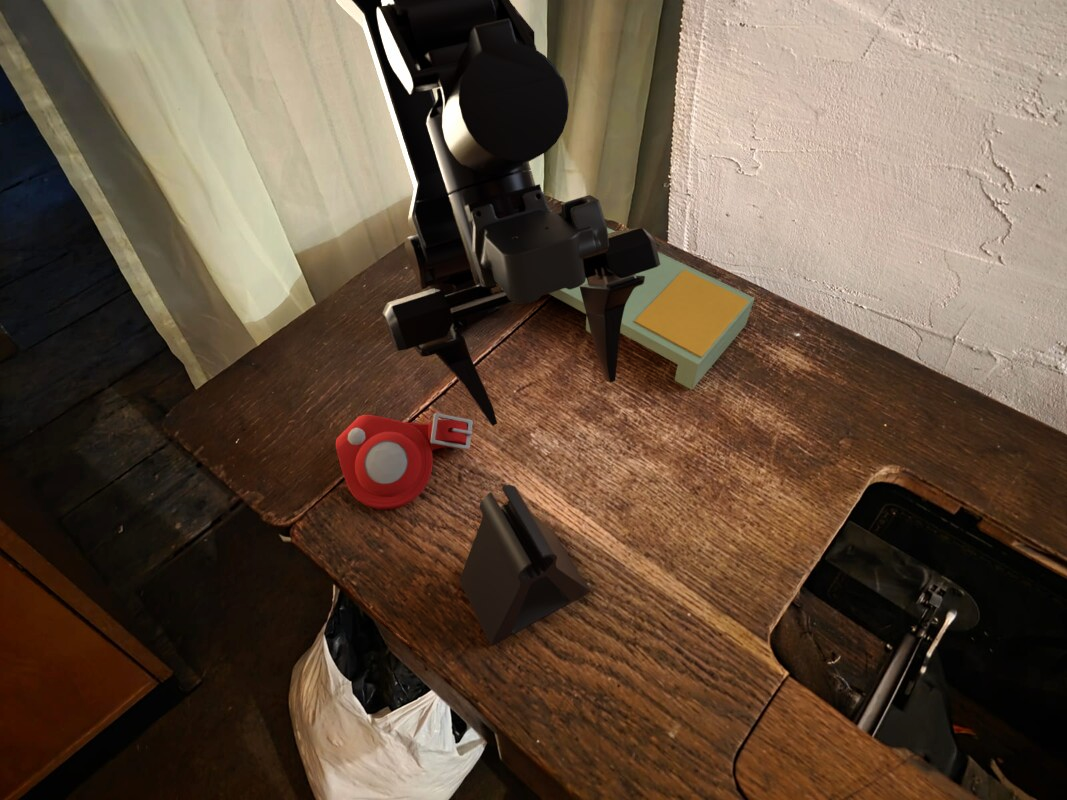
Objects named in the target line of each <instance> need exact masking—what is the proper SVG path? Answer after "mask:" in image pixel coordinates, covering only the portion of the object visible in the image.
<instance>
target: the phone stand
mask: <svg viewBox="0 0 1067 800" xmlns="http://www.w3.org/2000/svg"><path fill="white" fill-rule="evenodd" d="M501 490H502V492H503V493H504V495H505V497H506V499H507V500H508V501H507V503H506V504H502V505H501V506H500V504H499V503H498V501H497V499H496V497H495V495H494V494H493V492H491V491H490V492H488V493H487V494H486V495H485V496H484V497H483V498H482V499H481V501H480V503H479V507H478V508H479V510H480V512H481V515H482V517H481V520H480V524H479V526H478V529H477V532H476V534H475V536H474V539H473V542H472V545H471V547H470V550H469V553H468V556H467V558H466V560H465V563H464V566H463V569H462V571H461V574H460V577H459V579H458V582H459V584H460V586H461V587H462V590H463V592H464V594H465V596H466V598H467V600H468V602H469V604H470V606H471V608H472V610H473V612H474V614H475V616H476V618H477V621H478V623H479V625H480V626H481V629H482V631H483V633H484V635H485V638H486V639H487V641H488V643H489V646H491V647H493V646H495V645H497V644H499V643H501V642H503V641H505V640H506V639H508V638H510V637H512V636H514V635H516V634H518V633H519V632H521V631H523V630H525V629H527V628H529V627H530V626H532V625H533V624H536V623H537V622H539V621H540V620H541V619H545V618H547V617H548V616H550V615H552V614H554V613H556V612H557V611H559V610H561V609H564V608H565V607H567V606H568V605H570V604H572V603H574V602H576V601H577V600H579V599H581V598H583V597H585V596H586V595H588V594H589V593H590V592H591V591H590V588H589V587H588V585H587V583H586V582H585V580H584V579H583V577H582V575H581V574H580V572H579V570H578V569H577V567H576V565H575V564H574V562H573V560H572V559H571V557H570V555H569V554H568V552H567V550H566V549H565V547H564V546H563V544H562V542H561V540H560V539H559V537H558V535H557V533H556V532H555V531H554V530H553V529H552V528H551V527H549V526H548V525H547V524H546V523H544V522H543V521H542V520H541V519H540V518H539V517H538V516H536V515H535V514H534V513H533V512H532V511H530V508H529V507H528V504H526V502H525V500H524V499H523V497H522V495H521V493H520V492H519V490H518V488H517V487H516V486H515V485H511V484H506V485H502V487H501Z"/></svg>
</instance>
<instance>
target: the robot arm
mask: <svg viewBox="0 0 1067 800" xmlns="http://www.w3.org/2000/svg"><path fill="white" fill-rule="evenodd" d="M335 1H336V3H337V4H338V5H339V6H340V7H341V8H342V10H344V11H345V12H346V13H347V14H348V15H349V16H350V17H351V19H353V20H354V21H355V22H356V23H357V24H358V25H360V27H361V28H362V29H363V32H364V35H365V38H366V41H367V45H368V48H369V51H370V55H371V57H372V61H373V65H374V66H375V69H376V73H377V76H378V80H379V83H380V86H381V89H382V92H383V94H384V97H385V101H386V104H387V108H388V111H389V113H390V117H391V120H392V123H393V126H394V130H395V133H396V136H397V139H398V142H399V145H400V149H401V152H402V155H403V158H404V161H405V164H406V167H407V170H408V174H409V176H410V180H411V183H412V186H413V193H412V198H411V202H410V207H409V212H408V217H407V223H408V224H407V225H408V227H409V230H410V234H411V235H410V236H408V237H406V239H405V241H404V242H403V244H404V248H405V251H406V255H407V259H408V261H409V265H410V266H411V268H412V271H413V273H414V275H415V277H416V280H417V282H418V284H419V286H420V289H421V290H423V291H420V292H416V293H413V294H411V295H407V296H404V297H400V298H398V299H394V300H391V301H388V302H386V304H385V306H384V308H383V310H382V318H383V320H384V323H385V326H386V330H387V332H388V336H389V338H390V341H391V344H392V345H393V346H394V347H395V349H396V350H397V352H400V351H407V350H409V349H412V348H413V349H414V350H415V351H416V352H417V353H418V355H419V356H421V357H422V358H424V357H430V356H433V355H436V356H437V357H438V358H439V359H440V360H441V362H442V363H443V364H444V365H445V366H446V367H447V368H448V369H449V371H451V372H452V374H453V375H454V376H455V377H456V379H457V380H458V381H459V383H460V384H461V385H462V387H463V388H464V390H465V391H466V392H467V394H468V395H469V397H470V398H471V399H472V401H473V402H474V404H475V405H476V406H477V408H478V410H479V411H480V412H481V413H482V414H483V416H484V418H485V419H486V420H487V422H488V423H489V424H490V425H491V426H492V427H493V426H496V425H498V420H497V416H496V414H495V410H494V407H493V404H492V402H491V399H490V396H489V395H488V392H487V391H486V388H485V385H484V384H483V381H482V379H481V377H480V375H479V373H478V370H477V368H476V366H475V364H474V361H473V359H472V357H471V354H470V351H469V348H468V345H467V342H466V339H465V336H463V335H462V334H459V333H461V332H463V331H464V330H466V329H468V328H470V327H472V326H473V325H476V324H478V323H479V322H481V321H482V320H484V319H486V318H488V317H489V316H492V315H493V314H495V313H497V312H499V311H500V310H501V306H504V305H508V304H510V303H513V304H517V305H526V304H530V303H534V302H537V301H539V299H540V298H541V297H542V296H546V295H549V294H548V293H552V292H555V291H558V290H561V289H564V288H567V289H569V290H571V289H574V288H577V287H579V286H580V291H581V295H582V299H583V303H584V307H585V311H586V314H585V315H586V317H587V319H588V323H589V327H590V331H591V333H590V335H591V338H592V342H593V346H594V350H595V354H596V355H595V356H596V358H597V361H598V364H599V367H600V370H601V372H602V375H603V377H604V380H605V381H606V382H608V383H609V384H610V383H611V384H612V383H614V382H616V379H617V369H618V358H619V349H620V348H619V347H620V339H621V338H620V337H621V336H620V335H621V333H620V329H621V322H622V317H623V313H624V308H625V305H626V302H627V301H628V299H629V297H630V295H631V293H632V291H633V290H634V288H635V287H637V286H640V285H642V284H644V281H645V276H636V274H637V273H640V272H643V271H646V270H649V269H652V268H655V267H658V266H659V265H661V264H660V260H659V256H658V252H659V250H658V247H657V243H656V240H655V239H654V238H653V236H652V234H651V233H650V232H648V231H647V230H646V229H644V228H643V227H637V228H629V229H622V230H621V229H619V230H614V231H615V232H612V233H608V231H607V228H608V226H607V223H606V220H605V216H604V212H603V209H602V206H601V203H600V200H599V199H598V198H596V197H594V196H593V195H591V194H588V195H584V196H581V197H577V198H575V199H571V200H568V201H564V202H563V203H562V205H561V210H560V211H557V212H554V213H553V212H552V211H551V208H550V207H549V206H548V203H547V200H546V196H545V194H544V192H543V190H542V187H541V183H539V184H536V182H535V179H534V175H533V171H532V168H531V165H530V162H531V161H533V160H534V159H537V158H538V157H540V156H542V155H544V154H545V153H547V152H548V151H549V150H550V149H551V148H552V147H553V146H555V145H556V144H557V142H558V140H559V139H560V138H561V136H562V134H563V132H564V129H565V127H566V124H567V121H568V117H569V108H570V107H569V105H570V103H569V102H570V101H569V94H568V88H567V85H566V81H565V79H564V78H563V77H562V76H561V75H560V73H559V72H558V69H557V68H556V66H555V64H553V63H552V62H551V61H550V59H548V57H547V56H546V55H544V53H542V52H540V51H539V50H538V49H537V46H536V43H535V39H536V38H535V37H536V36H535V31H534V30H533V28H532V27H531V25H529V23H528V22H527V21H526V19H525V18H524V17H523V16H522V15H521V13H520V12H519V10H517V8H516V6H515V5H514V4H512V1H511V0H335ZM433 89H436V90H435V93H434V90H433ZM586 278H587V282H588V284H585V285H582V284H583V283H584V282H585V280H586ZM581 285H582V286H581ZM498 286H499V289H500V290H499V291H495V292H494V293H493V291H492V289H495V288H497V287H498ZM428 287H430V289H427V288H428Z"/></svg>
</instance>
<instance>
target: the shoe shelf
mask: <svg viewBox="0 0 1067 800" xmlns="http://www.w3.org/2000/svg"><path fill="white" fill-rule="evenodd" d="M607 231H608V233H612V232H615V231H616V230H613V229H611V228H610V227H607ZM658 256H659V260H660V264H661V265H659V266H658V267H655V268H652V269H649V270H646V271H643V272H640V273H637V274H636V276H645V281H644V284H642V285H640V286H637V287H635V288H634V290H633V291H632V293H631V295H630V297H629V299H628V301H627V302H626V305H625V308H624V313H623V317H622V322H621V329H620V335H621V334H622V335H623V336H624V337H627V338H629V339H631V340H632V341H634V342H636V343H638V344H639V345H642V346H643V347H645V348H647V349H648V350H650V351H652V352H654V353H655V354H658V355H660V356H662V357H664V358H665V359H667V360H669V361H670V362H673V363H674V364H676V365H677V366H676V373H675V377H674V381H675V382H677V383H678V384H680V385H682V386H684V387H685V388H687V389H689V390H691V391H693V389H694V388H695V387H696V386H697V384H698V383H699V382H700V381H701V380H702V378H703V377H704V376H705V375H706V374H707V372H708V371H709V370H710V369H711V368H712V366H713V365H714V364H715V363H716V361H717V360H718V359H719V358H720V357H721V356H722V354H723V353H724V352H725V351H726V349H727V348H728V347H729V346H730V345H731V343H733V341H734V340H735V338H736V337H737V336H738V335H739V334H740V333H741V331H742V330H743V329H744V328H745V327H746V325H747V323H748V320H749V318H750V314H751V311H752V308H753V305H754V301H755V297H753V296H751V295H749V294H747V293H745V292H744V291H741V290H740V289H737V288H735V287H733V286H731V285H728V284H726V283H725V282H723V281H720V280H718V279H717V278H714V277H712V276H710V275H707V274H705V273H704V272H702V271H699V270H697V269H695V268H693V267H691V266H689V265H686V264H685V263H682V262H681V261H678V260H676V259H674V258H672V257H670V256H668V255H665V254H664V253H662V252H661V251H658ZM585 284H588V282H587V278H586V280H585V282H584V283H583V284H582V285H585ZM582 285H581V286H582ZM547 295H550V296H552V297H554V298H556V299H557V300H560V301H561V302H563V303H565V304H567V305H569V306H570V307H572V308H574V309H576V310H577V311H579V312H581V313H583V314H585V315H586V311H585V307H584V303H583V299H582V295H581V291H580V286H579V287H577V288H574V289H571V290H569V289H567V288H564V289H561V290H558V291H555V292H552V293H548V294H547ZM585 319H586V320H585V331H586V332H587V333H589V334H591V331H590V327H589V323H588V319H587V316H586V318H585Z"/></svg>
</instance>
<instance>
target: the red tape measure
mask: <svg viewBox="0 0 1067 800" xmlns="http://www.w3.org/2000/svg"><path fill="white" fill-rule="evenodd" d="M473 422H474V421H473V420H472V419H470V418H469V419H468V418H464V417H458V416H454V415H448V414H443V413H439V412H435V413H434V414H433V419H432V420H431V421H430V422H429V423H418V422H417V423H416V422H408V421H407V422H406V421H400V420H396V419H392V418H389V417H384V416H378V415H373V414H363V415H359V416H357V417H356V418H355V419H354V421H353V422H352V423H351V424H349V426H348V427H346V429H345V430H344V431H342V433H341V434H340V435H338V437H336V439H335V448H336V449H335V450H336V453H337V458H338V461H339V465H340V469H341V472H342V475H343V477H344V480H345V483H346V485H347V488H348V490H349V492H350V493H351V495H352V497H354V499H356V501H358V502H360V503H361V504H363V505H365V506H366V507H369V508H372V509H376V510H383V511H387V510H395V509H398V508H402V507H405V506H406V505H408V504H410V503H412V502H413V501H415V500H416V499H417V498H418V497H419V496H420V495H421V494H422V493H423V491H424V490H425V489H426V488H427V486H428V483H429V481H430V479H431V475H432V472H433V465H434V461H433V460H434V459H433V458H434V457H433V451H434V450H438V449H445V448H446V449H447V448H454V449H461V450H466V451H469V450H470V449H471V440H472V435H473V433H474V432H473V424H474V423H473Z"/></svg>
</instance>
